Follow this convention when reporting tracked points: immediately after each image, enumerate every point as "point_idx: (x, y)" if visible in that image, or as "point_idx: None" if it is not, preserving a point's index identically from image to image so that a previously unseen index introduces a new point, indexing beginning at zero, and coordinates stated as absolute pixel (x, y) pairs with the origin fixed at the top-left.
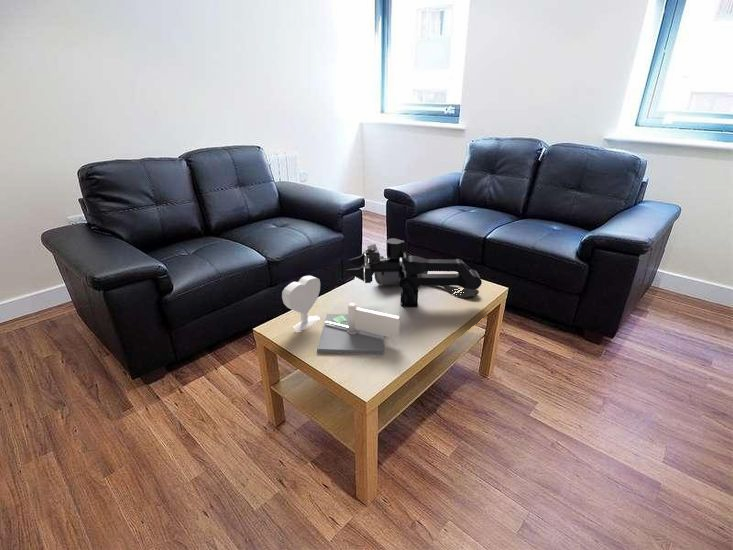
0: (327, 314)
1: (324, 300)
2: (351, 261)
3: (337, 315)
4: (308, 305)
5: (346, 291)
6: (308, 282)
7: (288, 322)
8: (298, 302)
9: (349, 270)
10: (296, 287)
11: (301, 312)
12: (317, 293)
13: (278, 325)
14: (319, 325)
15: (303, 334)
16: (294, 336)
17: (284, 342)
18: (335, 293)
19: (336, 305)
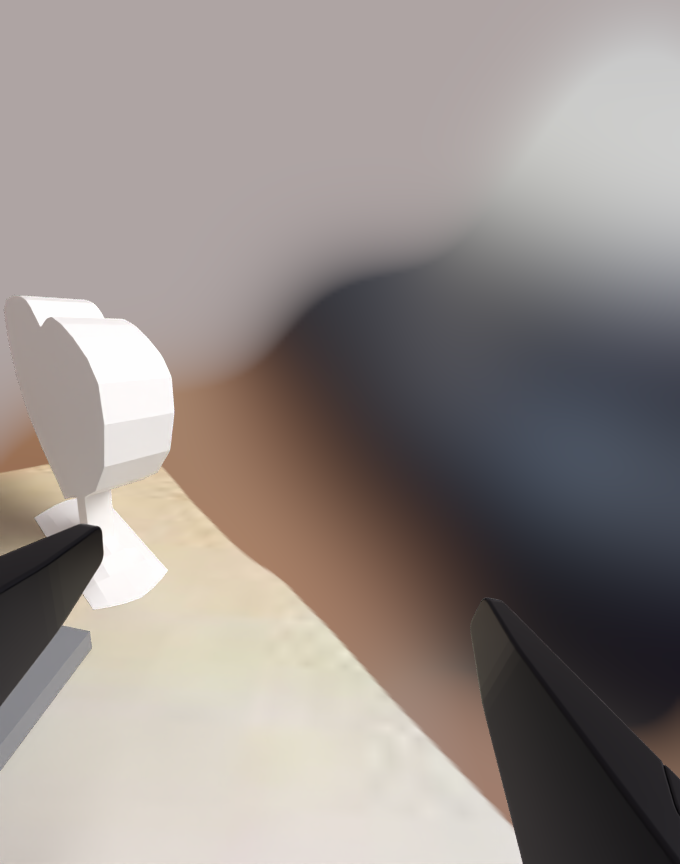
0: (76, 634)
1: (308, 645)
2: (505, 681)
3: (4, 709)
4: (65, 468)
5: (452, 850)
6: (51, 331)
7: (151, 499)
8: (33, 394)
9: (5, 562)
10: (16, 299)
11: (48, 459)
12: (94, 466)
13: None
14: None
15: (3, 532)
16: (20, 506)
17: (6, 480)
18: (402, 728)
19: (223, 728)
